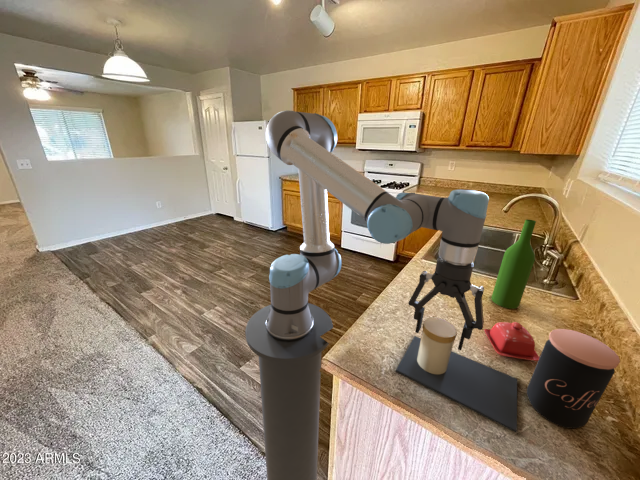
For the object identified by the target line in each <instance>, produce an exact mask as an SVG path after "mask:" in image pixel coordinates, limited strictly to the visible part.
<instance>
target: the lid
mask: <svg viewBox="0 0 640 480" xmlns="http://www.w3.org/2000/svg"><path fill="white" fill-rule="evenodd" d="M422 331H424V333H425V334H426V335H427V336H428V337H429V338H430V339H432V340H434V341H437V342H441V343H450V342H453V341H454V342H455V341H456V338H457V334H458V331H457V328H456V327H455V326H454V324H453V323H451V322H450V321H448V320H447V319H444V318H441V317H440V318H439V317H427V318H426V319H424V320H423V323H422Z"/></svg>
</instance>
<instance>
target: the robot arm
mask: <svg viewBox="0 0 640 480" xmlns="http://www.w3.org/2000/svg"><path fill="white" fill-rule="evenodd" d="M265 140H266V144H267V146H268V147H269V149H270V151H271V152H272V154H273V155H274V156H275V157H276V158H277V159H278V160H279V161H281V162H283V163H284V164H285V165H287V166H294V167H296V168H297V169H298V180H299V181H298V183H299V184H298V185H299V194H300V195H299V196H300V208H301V222H302V235H303V243H302V244H301V245H300V246H299V253H291V254H284V255H282V256H279V257H277V258H276V259H275V260H273V261H272V263H271V264H270V266H269V277H268V281H269V287H270V288H269V289H270V305H271V308H270V311H269V315H268V318H267V321H266V329H267V332H268V334H269V335H270V336H271V337H272V338H274V339H276V340H279V341H284V342H293V341H298V340H301V339H303V338H305V337H306V336H308V335H309V334H310V333H311V331H312V329H313V317H312V315H311V313H310V309H309V306H308V303H309V293H311V292H313V291H314V290H316V289H317V288H320V287H321V286H323V285H324V284H326V283H329V282H330V281H331V282H332V280H333V279H334V278H336V277H337V276H338V275H339V273H340V271H341V269H342V256H341V254H340V253H339V250H337V249H336V248H335V244H334V243H333V242H332V241H331V240H330V223H329V222H330V221H329V202H328V201H329V199H328V193H329V194H331V195H332V196H333V197H334V198H336V199H337V200H338V201H339V202H341V203H342V204H343V205H345V206H346V207H347V208H348V209H350V210H351V211H353V212H354V213H355V214H356V215H357V216H359V217H360V218H361V219H363V220H364V221H365V222H366V227H367V230H368V232H369V234H370V236H371V238H372V239H374V240H375V241H376V242H378V243H380V244H385V245H390V244H394V243H396V242H400V241H402V240H404V239H405V238H407V237H409V235H411V234H413V233H414V232H416V231H418V230H420V229H421V228H424V229H428V230H434V231H440V232H441V238H440V244H439V247H438V256H437V259H436V264H435V268H434V272H433V273H428V271H426V270H423V271H422V272H421V273H420V275H419V279H418V284H417V286H416V288H415V289H414V291H413V293H412V295H411V296H410V298H409V301H408V303H407V304H408V305H409V306H411V307H413V308H414V313H413V320H416V326H415V333H416V334H419V332H420V331H421V329H422V326H423V321H424V315H425V308H426V307H425V305H427V304H428V303H429V302H430V301H431V300H432V299H433V298H434V297H436V296H437V295H438V294H440V295H442V296H448V297H450V298H452V299H455V301H456V303H457V304H458V306H459V309H460V311H461V314H462V316H463V319H464V324H463V327H462V331H461V335H460V339H459V343H458V347H457V350H458V351H462V350H463V345H464V342H465V339H467V340H470V339H471V337H472V334H473V330H474V329H477V330H479V331H482V330H484V324H485V321H484V319H485V318H484V307H483V306H484V305H483V295H484V292H485V287H484V286H483V285H479V286H476V285H473V284H472V282H471V278H472V273H473V270H474V267H475V265H474V262H475V261H476V258H477V253H478V250H479V244H480V241H481V237H482V233H483V230H484V226H485V221H486V218H487V215H488V214H487V212H488V206H489V201H490V198H489V196H488V194H486V193H485V192H483V191H478V190H473V189H453V190H452V191H450V193H449V195H448V196H447V197H442V196H435V195H427V194H421V193H415V192H399V193H397V194H396V196H394V195H392V194H391V193H390V192H388V191H387V190H386V189H384V188H383V187H381V186H380V185H378V184H377V183H375V182H374V181H372V180H371V179H370V178H368V177H367V176H365V175H364V174H362V173H361V172H360V171H358V170H357V169H355V168H354V167H353V166H351V165H349V164H348V163H347V162H345V161H344V160H342V159H341V158H339V157H338V156H336V154H334V153H332V152H334V150H335V148H336V147H337V143H338V132H337V129H336V126H335V124H334V123H333V121H332V120H331V119H329V117H327V116H325V115H321V114H319V113H316V112H315V113H312V112H302V111H295V110H287V109H286V110H282V111H279V112H277V113H275V114H274V115H273V116H272V117H271V118H270V119H269V121H268V122H267V125H266V129H265ZM430 280H431V281H432V284H433V285H434V286H433V288H432V289H430V291H429V292H427V293H426V294H425V295H424V296H423V297H422V298H421V299H420V300H419V301H418V300H417V299H418V297H419V296H420V294H421V292H422V290H423V288H424V286H425V284H426V283H428V282H429V281H430ZM469 291H471V295H472V296H473V297H474V301H473V302H474V312H475V320H474V316H473V314H472V311H471V309H470V306H469V303H468V301H467V298H466V293H467V292H469Z"/></svg>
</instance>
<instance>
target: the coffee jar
mask: <svg viewBox="0 0 640 480" xmlns="http://www.w3.org/2000/svg"><path fill="white" fill-rule="evenodd" d="M539 357H540V358H539V360H538V361H537V363H536V365H535V367H534V370H533V373H532V375H531V377H530V380H529V382H528V385H527V387H526V396H527V398H528V401H529V403H530V404H531V406H532V407H533V409H534V410H535V411H536V412H537V413H538V414H539V415H540V416H542V417H543V418H544V419H546V420H548V422H550V423H553V424H555V425H557V426H560V427H563V428H567V429H579V428H582V427H585V426H586V425H587V423H588V421H589V420H590V418H591V416H592V414H593V412H594V411H595V409H596V407H597V405H598V403H599V401H600V400H601V398H602V396H603V394H604V392H605V390H606V389H607V387H608V385H609V383H610V382H611V379H612V378H613V376H614V374H615V371H616V370H615V369H616V368H617V367H618V366H619V364H620V363H621V360H620V357H619V355H618V354H617V352H616V351H615V350H613V349H612V348H611V347H609V345H607V344H606V343H604V342H602V341H600V340H598V339H597V338H595V337H592V336H591V335H588V334H585V333H582V332H580V331H577V330H572V329H567V328H555V329H552V330H551V331H550V332H549V335H548V340H546V341H545V344H544V346H543V348H542V351H541V353H540V355H539Z"/></svg>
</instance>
